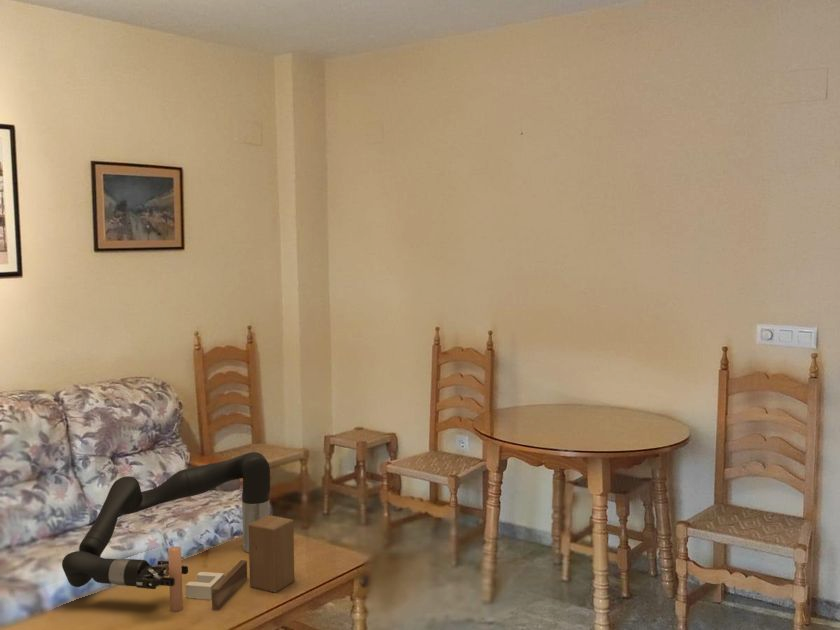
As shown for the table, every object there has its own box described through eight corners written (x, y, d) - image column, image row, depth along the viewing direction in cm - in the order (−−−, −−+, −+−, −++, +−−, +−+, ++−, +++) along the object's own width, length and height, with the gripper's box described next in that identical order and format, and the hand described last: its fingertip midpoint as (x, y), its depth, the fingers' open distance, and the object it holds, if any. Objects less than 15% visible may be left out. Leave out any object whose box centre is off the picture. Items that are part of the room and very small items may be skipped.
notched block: (186, 597, 246) (185, 585, 245) (200, 584, 255) (200, 571, 255) (211, 599, 244) (210, 586, 244) (224, 585, 254) (224, 573, 254)
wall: (212, 609, 238) (211, 589, 237) (241, 578, 259) (240, 560, 259) (218, 609, 237) (218, 589, 237) (247, 578, 259) (246, 560, 258)
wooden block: (249, 587, 253) (247, 524, 251) (269, 575, 262) (268, 514, 260) (275, 593, 248) (274, 529, 247) (295, 581, 257) (294, 519, 255)
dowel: (180, 605, 241) (178, 545, 239) (184, 609, 238) (182, 549, 236) (168, 608, 238) (166, 548, 237) (173, 612, 236) (171, 552, 234)
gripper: (115, 569, 232) (169, 573, 230) (140, 550, 246) (191, 554, 244) (116, 595, 233) (170, 599, 230) (141, 575, 247) (192, 578, 244)
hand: (181, 575), depth 237 cm, fingers open, 8 cm apart
